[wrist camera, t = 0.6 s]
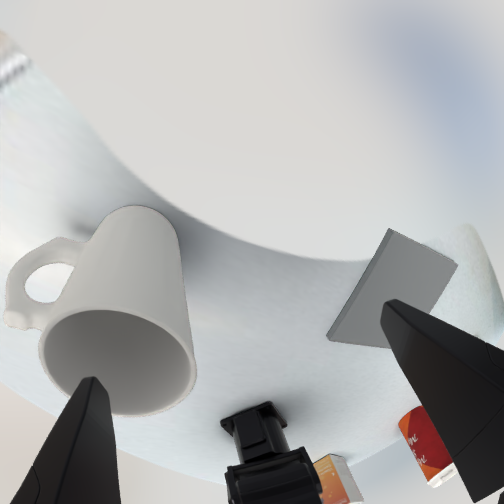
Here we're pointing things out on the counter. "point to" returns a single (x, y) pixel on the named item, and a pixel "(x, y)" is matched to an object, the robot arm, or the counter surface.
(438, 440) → the coffee cup
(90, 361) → the mug
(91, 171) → the counter surface
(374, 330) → the slate pad
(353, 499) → the small box
